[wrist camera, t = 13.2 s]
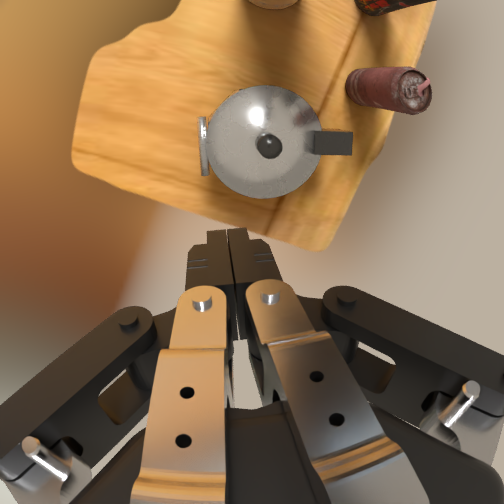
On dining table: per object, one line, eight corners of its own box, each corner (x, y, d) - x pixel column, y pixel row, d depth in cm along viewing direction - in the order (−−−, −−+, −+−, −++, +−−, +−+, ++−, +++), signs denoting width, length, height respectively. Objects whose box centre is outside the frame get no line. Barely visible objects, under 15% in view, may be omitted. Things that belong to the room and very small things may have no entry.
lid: (195, 88, 29) (193, 88, 26) (350, 90, 31) (364, 90, 28) (203, 200, 36) (202, 211, 33) (344, 192, 38) (356, 202, 35)
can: (385, 87, 38) (442, 93, 26) (363, 112, 41) (417, 126, 29) (360, 60, 36) (415, 55, 24) (336, 86, 38) (387, 88, 26)
